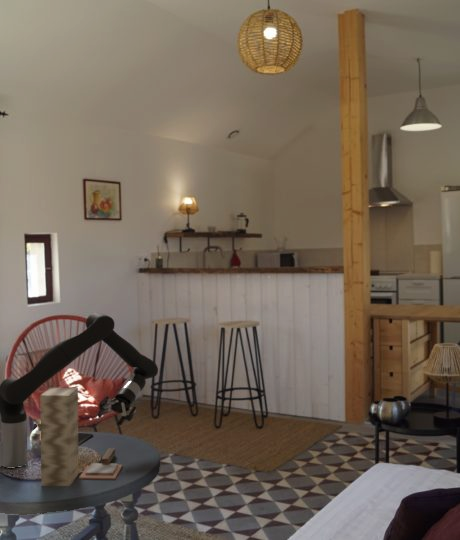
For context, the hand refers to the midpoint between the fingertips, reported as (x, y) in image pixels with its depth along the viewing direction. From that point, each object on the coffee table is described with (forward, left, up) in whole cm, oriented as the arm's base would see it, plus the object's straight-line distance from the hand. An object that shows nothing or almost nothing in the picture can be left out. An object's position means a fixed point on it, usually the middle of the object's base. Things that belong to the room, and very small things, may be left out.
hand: (108, 420), depth 259 cm
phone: (-18, +23, -16) cm, 33 cm away
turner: (+1, -9, -14) cm, 17 cm away
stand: (-12, -24, -15) cm, 31 cm away
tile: (+1, -16, -15) cm, 22 cm away
